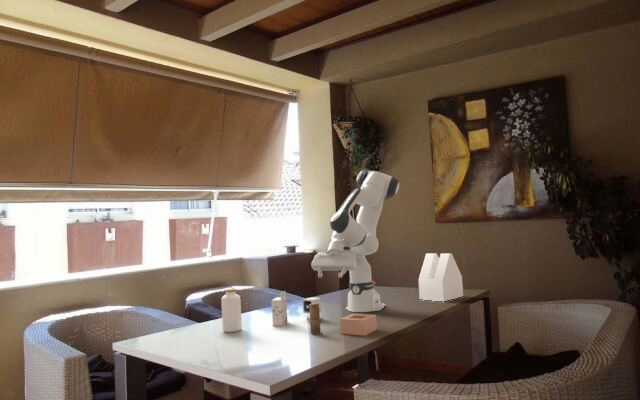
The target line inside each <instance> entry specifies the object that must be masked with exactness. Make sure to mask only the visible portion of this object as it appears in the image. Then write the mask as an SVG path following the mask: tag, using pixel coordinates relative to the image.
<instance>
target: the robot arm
mask: <svg viewBox="0 0 640 400" xmlns="http://www.w3.org/2000/svg"><path fill="white" fill-rule="evenodd" d="M356 186H357V187H358V188H355V189H353V190H352V191H351V192H350V193H349V194H348V196H347V197H346V199H345V200H344V201H343V202H342V204H341V205H340V207H339V209H337V211H336V212H335V213H334V214H333V215H332V216H331V218H330V221H329V224H330V225H329V226H330V228H331V230H332V231H333V232H332V234H331V237H330V243H328V247H327V251H326V252H318V253H316V254H315V255H314V257H313V260H312V261H311V264H310V265H311V269H312V270H313V271H317V272H318V274H317V277H318V278H323V276H324V275H323V271H325V272H326V271H327V272H328V271H330V272H333V271H337V272H338V274H337V276H338V278H339V279H342V278H343V276H344V275H345V274H346V273H347V271H349V285H348V287H349V290H350V291H349V292H348V293H347V306H346V307H345V310H347V311H349V312H350V313H351V312H353V313H369V312H377V311H378V312H379V311H381V310H382V309H383V308H384V306H385V307H386V303H382V302H381V296H380V293H378V292H377V291H376V289H375V285H376V281H373V280H372V279H373V278H372V267H371V265H370V263H369V262H368V260H367V258H366V256H369V255H372V254H374V253H375V254H376V252H377V251H378V249H379V244H380V243H379V239H378V238H377V226H378V223H379V219H380V216H381V213H382V210H383V206H384V200H389V199H391V198H394V197H395V196H396V194H398V192H399V190H400V180H399V179H398V178H397V177H394V176H392V175H389V174H386V173H383V172H380V171H377V170H370V169H362V170H360V171H359V173H358V174H357V177H356ZM355 205H359V206H360V207H359V209H358V213H357V216H356V219H355V218H354V217H352V215H351V211H352V210H353V208H354V207H355ZM339 271H340V272H339Z"/></svg>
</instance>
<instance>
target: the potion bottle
mask: <svg viewBox="0 0 640 400" xmlns="http://www.w3.org/2000/svg"><path fill="white" fill-rule="evenodd" d="M236 291H237V290H236V289H235V288H229V289H225V294H224V295H223V296H221V318H222V320H221V321H222V330H223V332H225V333H236V332H239V331H241V330H242V329H243V328H242V327H243V323H242V305H241V304H242V302H241V296H240V294H237V293H236Z"/></svg>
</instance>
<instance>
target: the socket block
mask: <svg viewBox="0 0 640 400" xmlns="http://www.w3.org/2000/svg"><path fill="white" fill-rule="evenodd" d="M339 321H340V322H339V323H340V334H342V335H353V336H364V337H365V336H367V335H368V336H369V334H371V333H373V332H375V331H377V329H378V326H377V315H376V314H364V313H362V314H361V313H351V314H349V315H346V316H343V317H341V318H340V319H339Z"/></svg>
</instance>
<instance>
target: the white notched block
mask: <svg viewBox="0 0 640 400" xmlns="http://www.w3.org/2000/svg"><path fill="white" fill-rule="evenodd" d="M418 295H419V300H420V299H423V300H422V301H424V300H432V301H431V302H434V301H443V302H442V303H445V302H444V301H447V300H451V299H455V298H458V297H462V296H463V297H464V286H463V275H462V274H461V272H460V269H459V267H458V264H457V262H456V260H455V258H454V255H453V253H450V252H449V253H446V252H444V253H440V255H438V253H437V252H436V253H435V252H433V253H432V252H430V253H425V256H424V260H423V264H422V266H421V270H420V273H419V277H418ZM463 297H462V298H463ZM455 300H456V299H455ZM451 301H452V300H451ZM447 302H448V301H447Z"/></svg>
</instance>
